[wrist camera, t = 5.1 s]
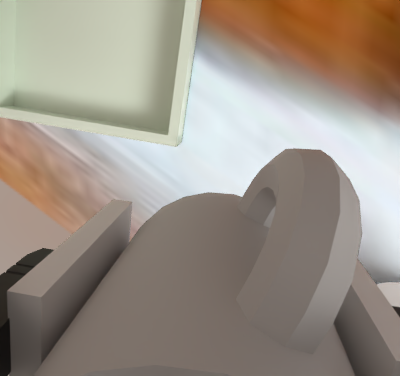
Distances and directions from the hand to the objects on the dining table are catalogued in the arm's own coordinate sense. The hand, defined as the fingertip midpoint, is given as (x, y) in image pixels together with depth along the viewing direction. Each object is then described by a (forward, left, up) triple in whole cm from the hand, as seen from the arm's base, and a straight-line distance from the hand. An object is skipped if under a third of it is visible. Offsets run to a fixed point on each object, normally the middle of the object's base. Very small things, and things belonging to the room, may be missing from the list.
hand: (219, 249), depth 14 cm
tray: (-11, -12, -18) cm, 25 cm away
